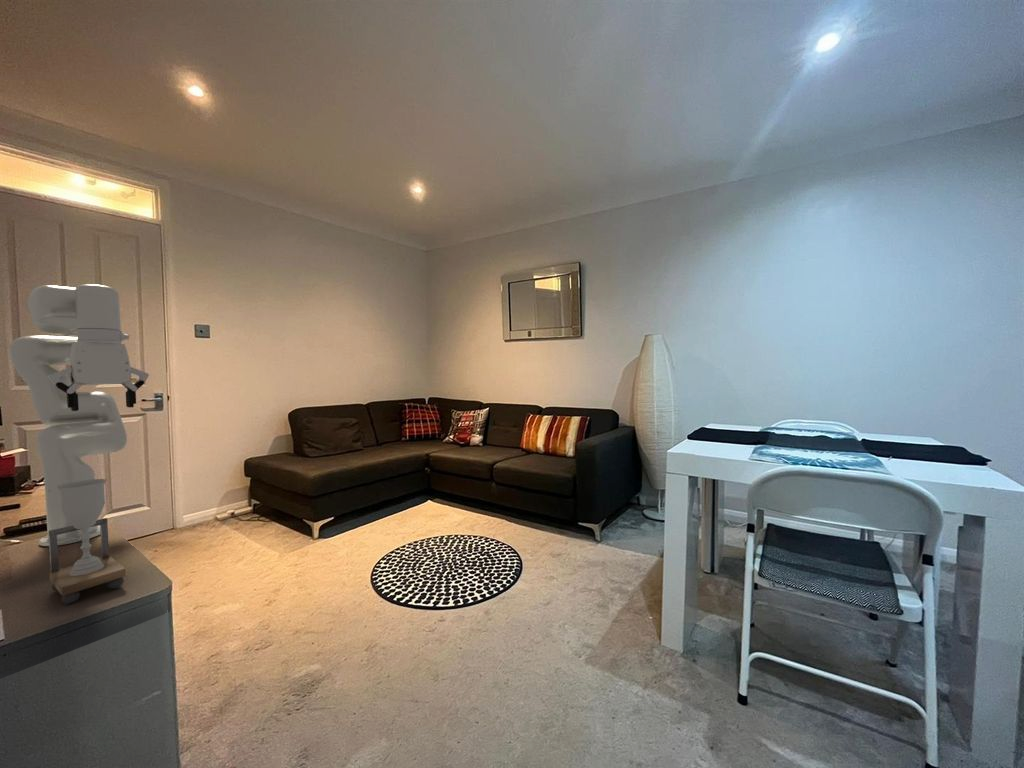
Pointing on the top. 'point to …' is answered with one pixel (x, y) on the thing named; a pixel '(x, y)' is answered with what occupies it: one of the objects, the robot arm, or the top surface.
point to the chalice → (83, 517)
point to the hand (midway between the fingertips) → (103, 408)
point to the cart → (73, 584)
